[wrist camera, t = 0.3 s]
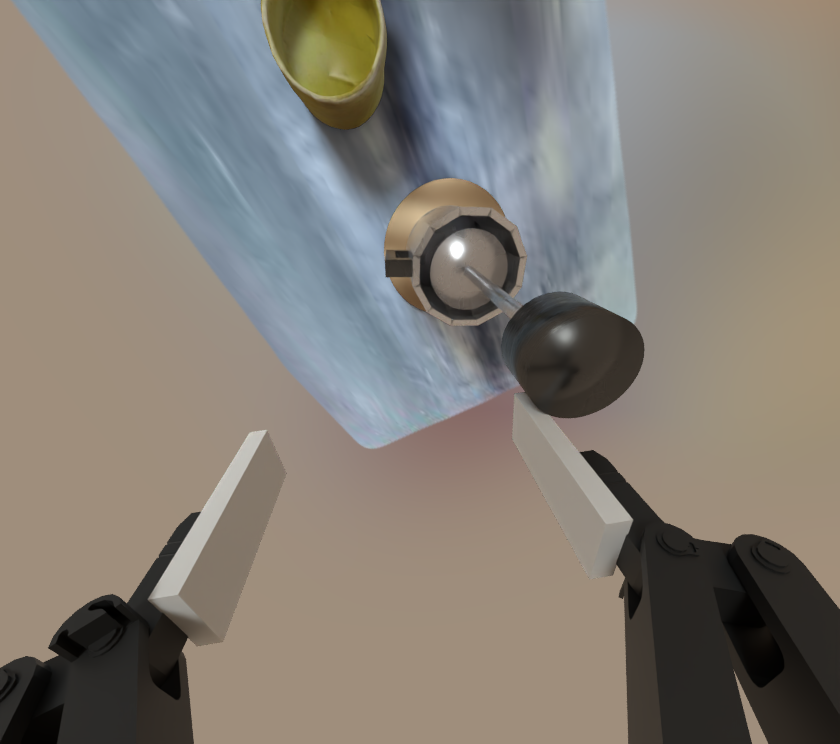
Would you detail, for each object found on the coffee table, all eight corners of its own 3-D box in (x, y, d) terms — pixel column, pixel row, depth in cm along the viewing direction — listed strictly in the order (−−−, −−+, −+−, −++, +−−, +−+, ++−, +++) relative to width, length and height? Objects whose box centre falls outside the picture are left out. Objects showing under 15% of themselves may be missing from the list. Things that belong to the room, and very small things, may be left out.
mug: (365, 172, 32) (333, 106, 22) (285, 112, 32) (217, 17, 22) (433, 61, 30) (430, -65, 20) (349, -5, 30) (305, -167, 20)
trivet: (381, 176, 34) (381, 176, 34) (518, 180, 35) (520, 180, 35) (386, 313, 42) (386, 314, 41) (498, 312, 43) (499, 313, 43)
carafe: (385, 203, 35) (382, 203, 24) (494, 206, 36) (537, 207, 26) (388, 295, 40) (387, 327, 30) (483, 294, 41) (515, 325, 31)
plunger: (430, 227, 26) (506, 270, 9) (510, 228, 27) (721, 271, 10) (428, 307, 30) (479, 447, 13) (498, 307, 31) (639, 440, 13)
